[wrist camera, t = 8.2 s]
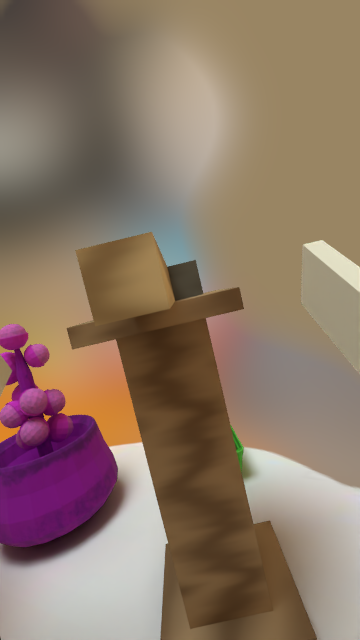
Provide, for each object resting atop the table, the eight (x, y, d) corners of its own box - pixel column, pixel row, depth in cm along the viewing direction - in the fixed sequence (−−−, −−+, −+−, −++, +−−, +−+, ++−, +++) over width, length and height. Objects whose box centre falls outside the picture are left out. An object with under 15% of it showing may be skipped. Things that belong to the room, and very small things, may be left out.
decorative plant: (-39, 583, 39) (-113, 350, 36) (33, 489, 57) (-13, 331, 55) (108, 552, 38) (42, 313, 36) (132, 467, 57) (90, 306, 54)
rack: (163, 689, 23) (66, 328, 21) (168, 556, 35) (107, 316, 33) (320, 655, 23) (239, 287, 21) (272, 532, 35) (217, 289, 33)
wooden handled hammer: (33, 340, 12) (12, 265, 12) (122, 312, 31) (114, 283, 31) (232, 293, 12) (215, 216, 12) (200, 294, 31) (193, 264, 31)
